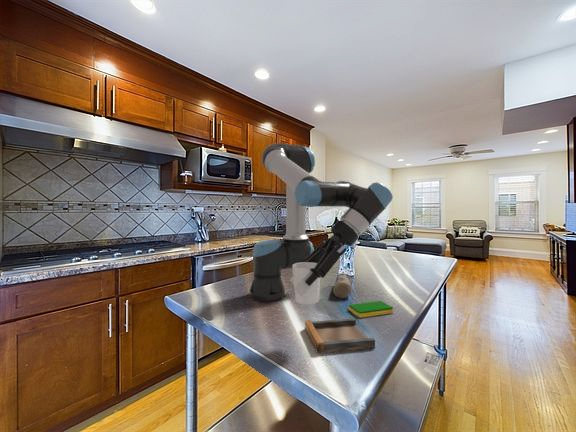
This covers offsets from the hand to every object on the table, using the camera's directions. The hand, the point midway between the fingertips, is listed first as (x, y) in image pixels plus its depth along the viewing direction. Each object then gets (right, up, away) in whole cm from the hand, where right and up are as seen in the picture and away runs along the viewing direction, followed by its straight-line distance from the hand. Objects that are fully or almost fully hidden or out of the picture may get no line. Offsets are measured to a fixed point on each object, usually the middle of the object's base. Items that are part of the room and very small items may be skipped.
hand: (295, 287), depth 72 cm
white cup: (+3, -4, +1) cm, 5 cm away
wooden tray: (+12, -15, +2) cm, 20 cm away
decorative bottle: (+24, -14, +45) cm, 53 cm away
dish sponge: (+28, -15, +21) cm, 38 cm away
